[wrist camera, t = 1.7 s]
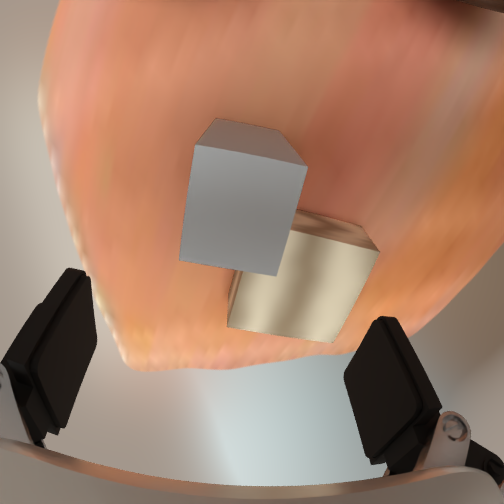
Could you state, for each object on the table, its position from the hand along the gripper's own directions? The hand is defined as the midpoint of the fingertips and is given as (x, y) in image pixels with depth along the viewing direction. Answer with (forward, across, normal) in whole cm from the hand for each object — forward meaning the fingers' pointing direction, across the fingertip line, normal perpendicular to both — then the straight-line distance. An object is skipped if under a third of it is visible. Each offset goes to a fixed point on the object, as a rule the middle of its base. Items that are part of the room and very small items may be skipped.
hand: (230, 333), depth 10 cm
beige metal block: (+23, -8, +10) cm, 27 cm away
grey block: (+23, 0, 0) cm, 23 cm away
